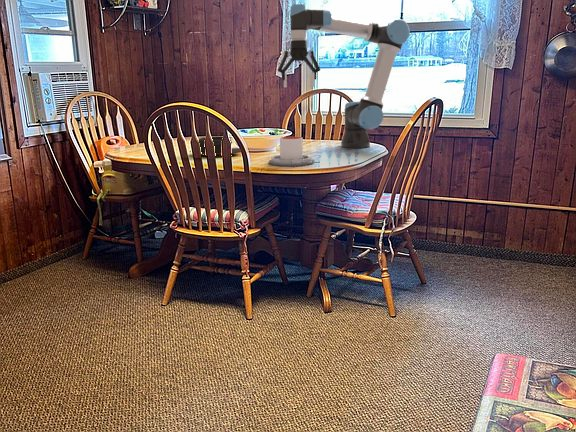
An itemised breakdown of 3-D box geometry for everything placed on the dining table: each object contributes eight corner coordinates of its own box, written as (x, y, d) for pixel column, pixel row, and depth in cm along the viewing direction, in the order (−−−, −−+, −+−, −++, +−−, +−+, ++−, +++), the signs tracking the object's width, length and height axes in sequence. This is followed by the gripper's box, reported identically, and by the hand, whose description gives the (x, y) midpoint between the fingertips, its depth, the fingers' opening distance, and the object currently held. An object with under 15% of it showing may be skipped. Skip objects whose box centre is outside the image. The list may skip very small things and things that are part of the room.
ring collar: (306, 158, 254) (306, 152, 253) (320, 165, 235) (320, 159, 235) (264, 160, 249) (264, 155, 248) (274, 167, 230) (274, 161, 230)
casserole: (243, 152, 276) (242, 135, 274) (238, 158, 258) (237, 140, 256) (194, 152, 277) (193, 136, 275) (185, 158, 259) (184, 140, 257)
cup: (300, 162, 236) (300, 139, 234) (278, 162, 238) (277, 139, 236) (304, 158, 246) (304, 136, 243) (282, 158, 248) (282, 136, 245)
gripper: (321, 40, 261) (321, 86, 267) (270, 40, 255) (271, 87, 261) (326, 39, 254) (326, 86, 260) (274, 39, 248) (275, 87, 254)
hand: (299, 87), depth 260 cm, fingers open, 13 cm apart
